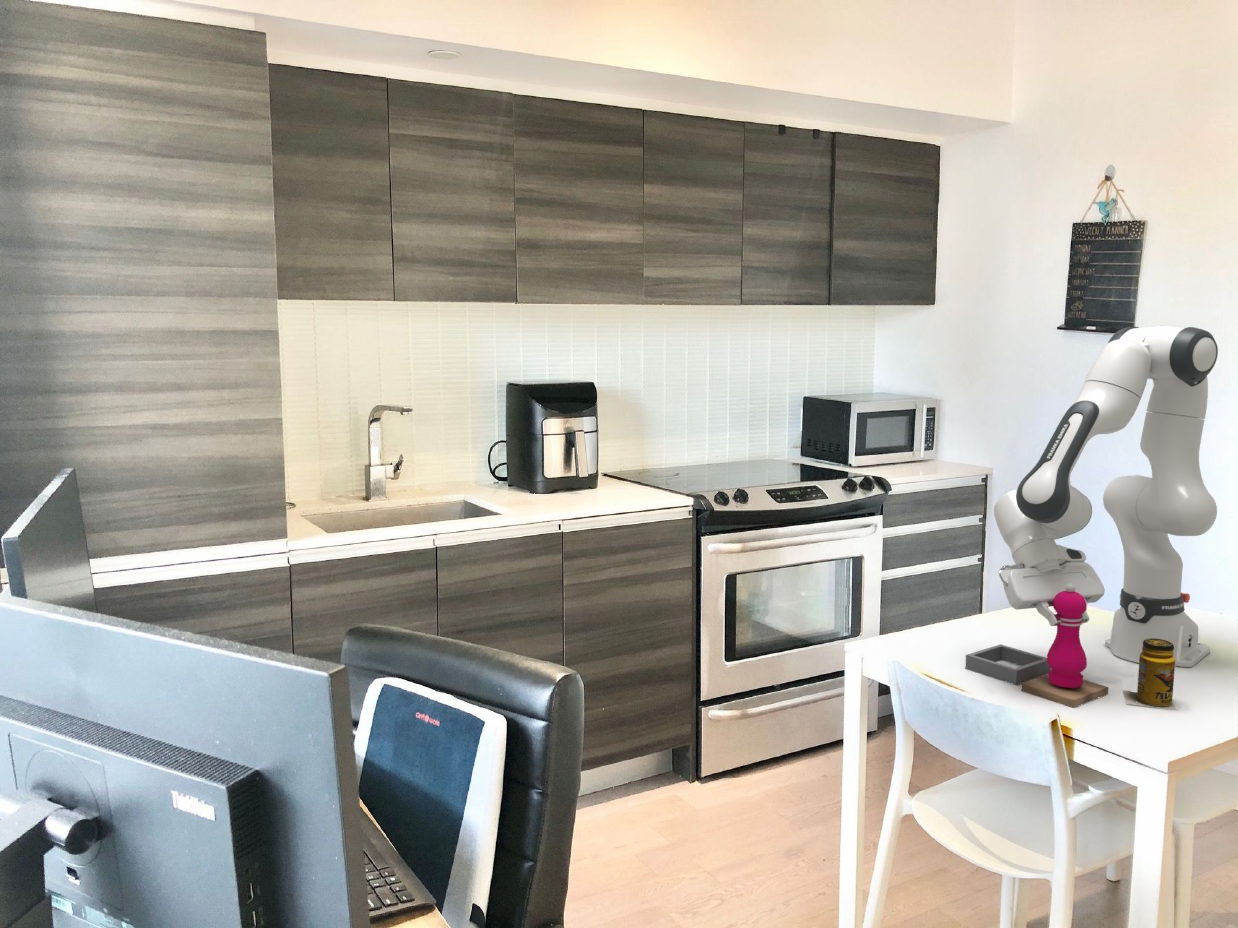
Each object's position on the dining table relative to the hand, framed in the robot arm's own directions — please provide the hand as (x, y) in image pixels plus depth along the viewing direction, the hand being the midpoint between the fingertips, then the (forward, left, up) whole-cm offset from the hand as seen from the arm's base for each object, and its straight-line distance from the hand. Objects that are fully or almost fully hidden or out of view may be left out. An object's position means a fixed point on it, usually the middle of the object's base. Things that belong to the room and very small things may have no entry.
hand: (1070, 623), depth 194 cm
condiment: (-9, +11, -15) cm, 21 cm away
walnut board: (0, -1, -14) cm, 14 cm away
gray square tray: (-2, -15, -14) cm, 21 cm away
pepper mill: (0, 0, -12) cm, 12 cm away
